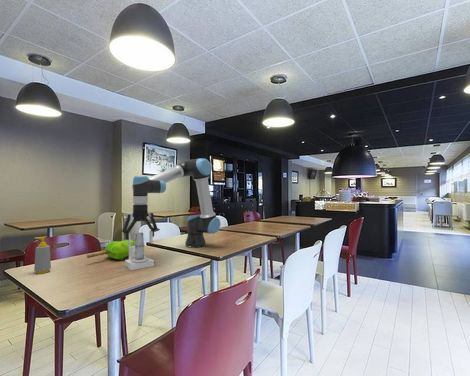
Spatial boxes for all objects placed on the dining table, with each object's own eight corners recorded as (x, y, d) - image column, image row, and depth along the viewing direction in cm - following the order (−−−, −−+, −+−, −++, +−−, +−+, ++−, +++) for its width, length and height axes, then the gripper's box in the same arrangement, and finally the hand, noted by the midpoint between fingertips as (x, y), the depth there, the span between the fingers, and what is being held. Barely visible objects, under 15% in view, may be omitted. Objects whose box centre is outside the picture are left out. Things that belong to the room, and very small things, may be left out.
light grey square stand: (146, 261, 151) (146, 244, 151) (154, 266, 142) (154, 247, 142) (124, 265, 143) (125, 247, 144) (131, 270, 134) (131, 251, 135)
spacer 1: (145, 245, 141) (144, 233, 141) (136, 247, 139) (135, 234, 138) (142, 244, 145) (141, 232, 145) (133, 246, 142) (133, 233, 142)
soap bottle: (33, 271, 133) (33, 236, 133) (50, 269, 137) (50, 235, 137) (34, 275, 127) (34, 238, 128) (51, 272, 132) (51, 236, 132)
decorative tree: (80, 245, 151) (129, 236, 175) (81, 263, 151) (129, 252, 175) (95, 249, 140) (144, 239, 164) (95, 268, 140) (144, 256, 164)
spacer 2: (145, 258, 142) (144, 245, 141) (136, 260, 139) (136, 247, 139) (142, 257, 145) (141, 244, 145) (134, 258, 142) (133, 246, 142)
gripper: (158, 203, 152) (158, 240, 152) (115, 204, 138) (115, 245, 137) (163, 203, 147) (163, 242, 146) (119, 205, 132) (119, 248, 132)
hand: (140, 244), depth 142 cm, fingers open, 11 cm apart
